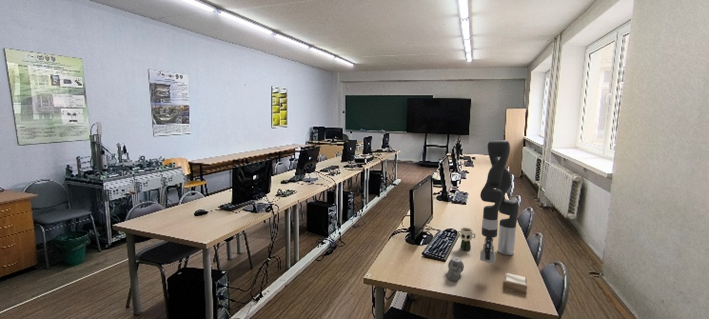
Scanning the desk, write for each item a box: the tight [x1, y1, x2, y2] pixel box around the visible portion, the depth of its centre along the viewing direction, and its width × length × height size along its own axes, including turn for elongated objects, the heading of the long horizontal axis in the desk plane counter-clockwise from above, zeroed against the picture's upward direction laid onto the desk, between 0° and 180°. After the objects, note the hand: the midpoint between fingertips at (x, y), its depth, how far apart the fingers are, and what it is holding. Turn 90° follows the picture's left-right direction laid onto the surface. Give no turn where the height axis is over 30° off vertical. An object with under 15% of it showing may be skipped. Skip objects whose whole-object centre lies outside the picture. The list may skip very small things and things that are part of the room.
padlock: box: [479, 242, 497, 264], centre depth 171 cm, size 7×4×10 cm, turn 58°
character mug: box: [456, 227, 476, 251], centre depth 208 cm, size 11×7×13 cm, turn 66°
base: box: [503, 272, 528, 295], centre depth 164 cm, size 10×10×4 cm
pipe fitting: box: [446, 256, 465, 282], centre depth 173 cm, size 12×8×10 cm
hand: (487, 257), depth 171 cm, fingers closed on padlock, 4 cm apart
